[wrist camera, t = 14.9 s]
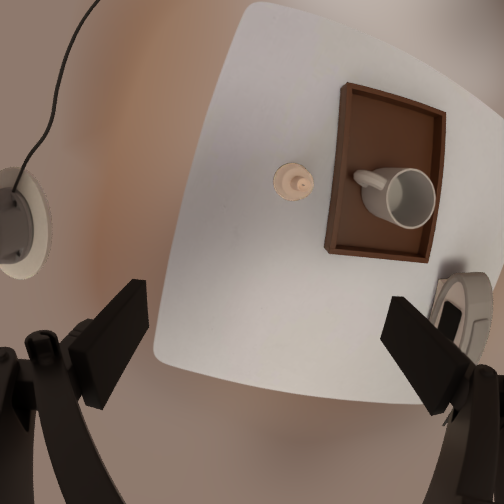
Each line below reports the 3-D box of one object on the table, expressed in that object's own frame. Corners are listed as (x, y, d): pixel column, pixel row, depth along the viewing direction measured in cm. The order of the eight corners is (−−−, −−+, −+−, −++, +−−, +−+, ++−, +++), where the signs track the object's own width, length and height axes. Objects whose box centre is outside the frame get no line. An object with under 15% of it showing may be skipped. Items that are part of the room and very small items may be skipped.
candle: (269, 196, 40) (275, 204, 30) (277, 159, 39) (285, 155, 29) (306, 204, 40) (323, 215, 30) (314, 167, 39) (333, 167, 29)
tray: (340, 88, 36) (347, 82, 33) (435, 115, 36) (446, 112, 33) (323, 247, 42) (329, 253, 39) (418, 257, 42) (428, 263, 39)
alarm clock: (438, 261, 42) (483, 288, 30) (462, 261, 42) (507, 286, 30) (409, 372, 49) (436, 413, 36) (433, 368, 49) (461, 405, 36)
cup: (391, 225, 40) (421, 238, 32) (335, 196, 39) (356, 203, 31) (410, 181, 38) (443, 186, 30) (354, 150, 37) (380, 145, 29)
